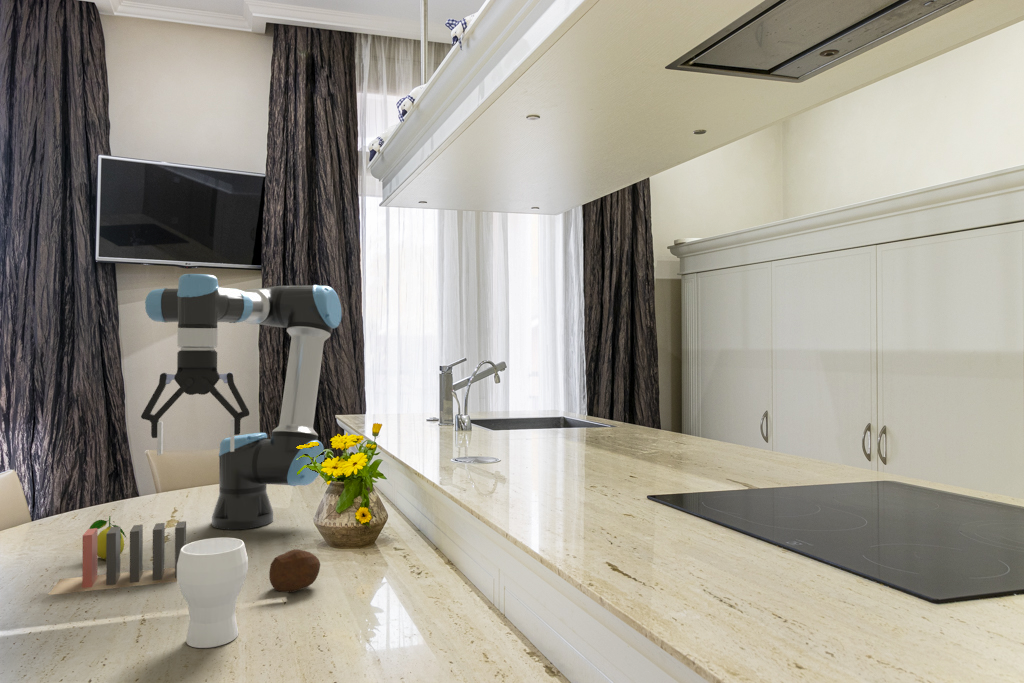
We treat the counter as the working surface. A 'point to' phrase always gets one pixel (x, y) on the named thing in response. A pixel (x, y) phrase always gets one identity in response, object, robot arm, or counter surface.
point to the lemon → (102, 537)
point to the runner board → (123, 581)
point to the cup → (212, 588)
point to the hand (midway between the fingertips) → (196, 452)
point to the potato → (293, 570)
